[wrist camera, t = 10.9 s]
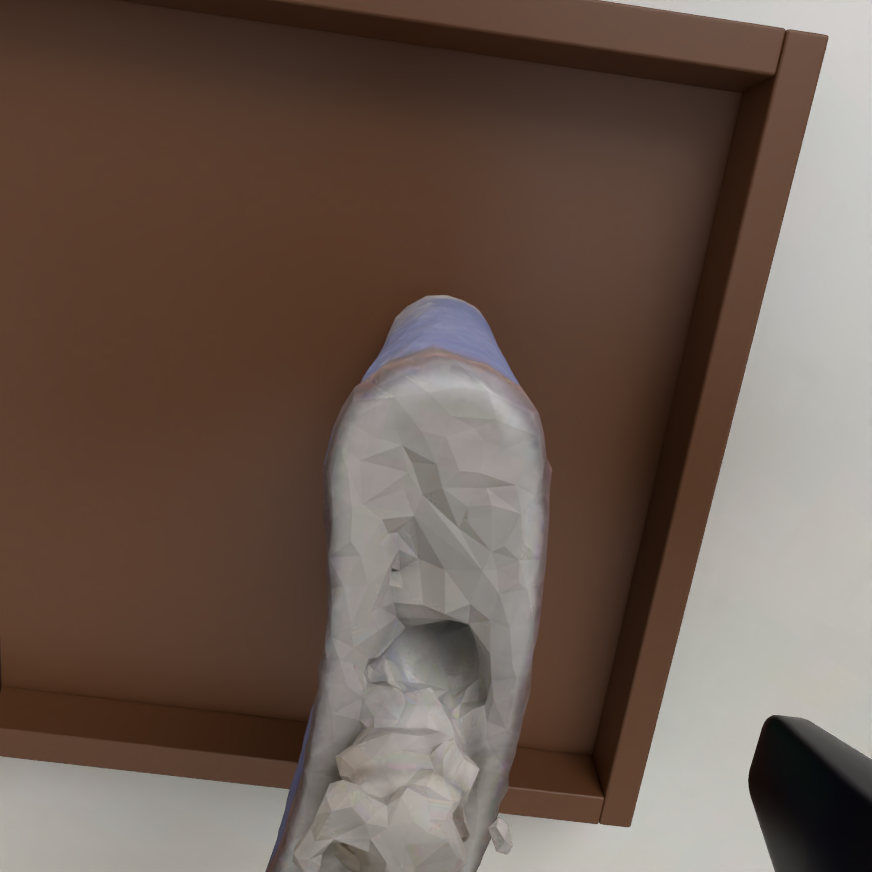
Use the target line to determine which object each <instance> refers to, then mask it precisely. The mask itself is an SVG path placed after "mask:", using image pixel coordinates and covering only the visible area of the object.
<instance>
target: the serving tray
mask: <svg viewBox="0 0 872 872" xmlns="http://www.w3.org/2000/svg"><path fill="white" fill-rule="evenodd" d="M827 42H828V36H827V35H823V34H817V33H810V32H804V31H797V30H790V29H789V30H786V31H785V29H784V28H778V27H772V26H765V25H759V24H752V23H745V22H739V21H732V20H726V19H719V18H713V17H706V16H699V15H693V14H686V13H680V12H673V11H666V10H660V9H653V8H647V7H640V6H633V5H627V4H620V3H614V2H607V1H600V0H0V647H1V681H2V684H1V692H0V756H3V757H12V758H20V759H29V760H38V761H47V762H56V763H64V764H73V765H82V766H91V767H100V768H108V769H117V770H126V771H135V772H143V773H152V774H161V775H170V776H179V777H187V778H196V779H205V780H214V781H223V782H231V783H240V784H249V785H258V786H267V787H275V788H284V789H290V786H291V783H292V780H293V778H294V775H295V772H296V769H297V766H298V762H299V758H300V754H301V751H302V746H303V740H304V736H305V732H306V728H307V724H308V720H309V716H310V712H311V709H312V707H313V704H314V701H315V696H316V693H317V691H318V689H319V678H318V666H319V663H320V661H321V658H322V656H323V652H324V643H325V634H326V625H327V616H328V599H327V551H326V531H325V526H324V521H323V473H322V469H323V467H324V461H325V457H326V453H327V449H328V445H329V442H330V438H331V434H332V430H333V426H334V424H335V422H336V419H337V417H338V415H339V412H340V410H341V408H342V406H343V405H344V403H345V402H346V400H347V398H348V397H349V395H350V394H351V392H352V391H353V389H354V387H356V386H357V385H358V384H360V383H361V381H362V378H363V376H364V375H365V373H366V372H367V370H368V369H369V367H370V366H371V365H372V364H373V362H374V361H375V360H376V359H377V357H378V355H379V353H380V352H381V350H382V348H383V346H384V344H385V342H386V338H387V335H388V333H389V331H390V329H391V326H392V324H393V322H394V320H395V318H396V316H398V315H399V314H400V313H401V312H402V311H403V310H404V309H405V308H406V307H407V306H408V305H410V304H412V303H414V302H416V301H418V300H420V299H421V298H423V297H425V296H432V295H448V296H451V297H454V298H457V299H461V300H464V301H466V302H467V303H469V304H471V305H473V306H475V307H476V308H477V309H478V310H479V311H480V312H481V314H482V315H483V317H484V318H485V320H486V321H487V323H488V325H489V327H490V329H491V331H492V333H493V336H494V338H495V340H496V343H497V345H498V347H499V349H500V350H501V352H502V354H503V356H504V358H505V359H506V361H507V363H508V365H509V367H510V369H511V371H512V373H513V374H514V376H515V378H516V379H517V381H518V383H519V385H520V386H521V388H522V389H523V390H524V392H525V393H526V395H527V396H528V398H529V399H530V400H531V402H532V403H533V405H534V406H535V408H536V409H537V411H538V412H539V416H540V420H541V424H542V428H543V431H544V438H545V448H546V457H547V459H548V461H549V463H550V466H551V468H552V475H551V486H550V496H549V529H548V543H547V558H546V569H545V577H544V586H543V596H542V605H541V614H540V623H539V631H538V637H537V641H536V645H535V648H534V652H533V662H532V676H531V689H530V696H529V700H528V703H527V707H526V710H525V714H524V718H523V723H522V727H521V732H520V736H519V740H518V743H517V747H516V754H515V757H514V760H513V763H512V766H511V769H510V771H509V774H508V787H509V789H508V791H507V793H506V794H505V796H504V798H503V799H502V801H501V803H500V806H499V810H498V813H504V814H513V815H521V816H530V817H539V818H548V819H557V820H565V821H574V822H583V823H592V824H598V823H600V824H603V825H612V826H621V827H630V826H631V822H632V818H633V814H634V810H635V806H636V802H637V798H638V794H639V790H640V786H641V782H642V778H643V774H644V770H645V766H646V762H647V758H648V754H649V750H650V746H651V742H652V738H653V734H654V730H655V726H656V722H657V718H658V714H659V710H660V706H661V702H662V698H663V694H664V690H665V686H666V682H667V678H668V674H669V670H670V667H671V663H672V659H673V655H674V651H675V647H676V643H677V639H678V635H679V631H680V627H681V623H682V619H683V615H684V611H685V607H686V603H687V599H688V595H689V591H690V587H691V583H692V579H693V575H694V571H695V567H696V563H697V559H698V555H699V551H700V547H701V543H702V539H703V535H704V531H705V527H706V523H707V519H708V515H709V511H710V507H711V503H712V499H713V495H714V491H715V487H716V483H717V479H718V475H719V472H720V468H721V464H722V460H723V456H724V452H725V448H726V444H727V440H728V436H729V432H730V428H731V424H732V420H733V416H734V412H735V408H736V404H737V400H738V396H739V392H740V388H741V384H742V380H743V376H744V372H745V368H746V364H747V360H748V356H749V352H750V348H751V344H752V340H753V336H754V332H755V328H756V324H757V320H758V316H759V312H760V308H761V304H762V300H763V296H764V292H765V288H766V284H767V281H768V277H769V273H770V269H771V265H772V261H773V257H774V253H775V249H776V245H777V241H778V237H779V233H780V229H781V225H782V221H783V217H784V213H785V209H786V205H787V201H788V197H789V193H790V189H791V185H792V181H793V177H794V173H795V169H796V165H797V161H798V157H799V153H800V149H801V145H802V141H803V137H804V133H805V129H806V125H807V121H808V117H809V113H810V109H811V105H812V101H813V97H814V93H815V89H816V86H817V82H818V78H819V74H820V70H821V66H822V62H823V58H824V54H825V50H826V46H827Z"/></svg>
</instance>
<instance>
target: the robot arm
mask: <svg viewBox="0 0 872 872" xmlns="http://www.w3.org/2000/svg"><path fill="white" fill-rule="evenodd" d="M1 684H2V681H1V647H0V692H1ZM748 782H749V791H750V796H751V799H752V802H753V805H754V808H755V811H756V814H757V818H758V821H759V824H760V827H761V830H762V833H763V836H764V839H765V842H766V845H767V848H768V851H769V855H770V858H771V861H772V864H773V867H774V870H775V872H872V759H870V758H868V757H867V756H865V755H864V754H862V753H860V752H859V751H857V750H855V749H854V748H852V747H851V746H849V745H847V744H846V743H844V742H843V741H841V740H839V739H838V738H836V737H835V736H833V735H831V734H830V733H828V732H826V731H825V730H823V729H822V728H820V727H818V726H817V725H815V724H814V723H812V722H810V721H808V720H806V719H803V718H798V717H789V716H780V715H773V716H771V717H769V718H767V720H766V721H765V722H764V725H763V727H762V730H761V734H760V737H759V740H758V744H757V747H756V750H755V754H754V757H753V760H752V764H751V767H750V771H749V778H748Z"/></svg>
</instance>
